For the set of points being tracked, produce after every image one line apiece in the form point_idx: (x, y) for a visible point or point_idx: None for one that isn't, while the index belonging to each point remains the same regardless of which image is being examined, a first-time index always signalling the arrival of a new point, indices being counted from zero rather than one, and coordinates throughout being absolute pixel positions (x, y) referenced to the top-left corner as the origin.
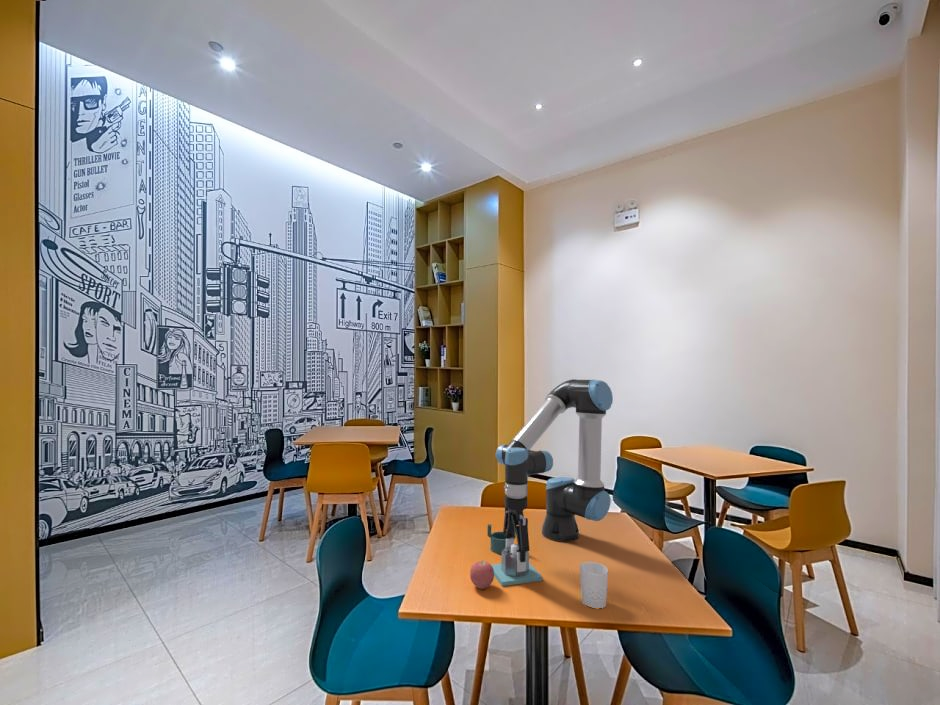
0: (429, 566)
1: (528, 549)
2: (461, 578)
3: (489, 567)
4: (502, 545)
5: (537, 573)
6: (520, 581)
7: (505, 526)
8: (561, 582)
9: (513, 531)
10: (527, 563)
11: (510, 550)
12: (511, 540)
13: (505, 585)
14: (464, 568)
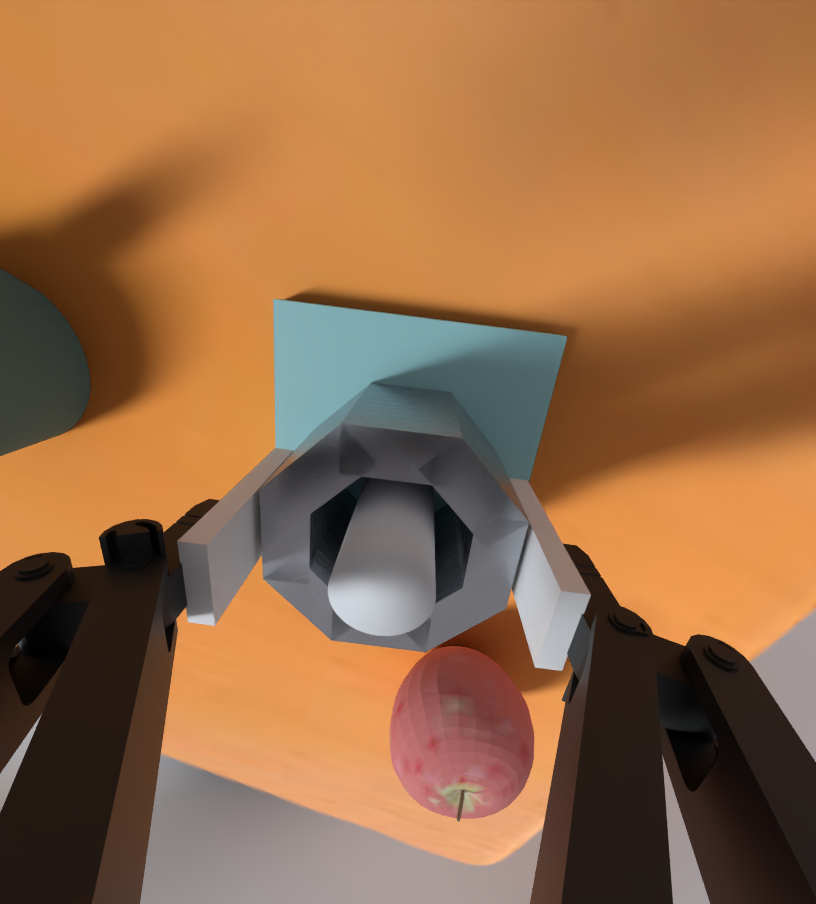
0: (198, 753)
1: (745, 677)
2: (344, 698)
3: (512, 769)
4: (28, 408)
5: (507, 346)
6: None
7: (4, 759)
8: (664, 198)
9: (150, 643)
10: (479, 441)
11: (313, 549)
12: (218, 560)
13: None
14: (250, 656)
